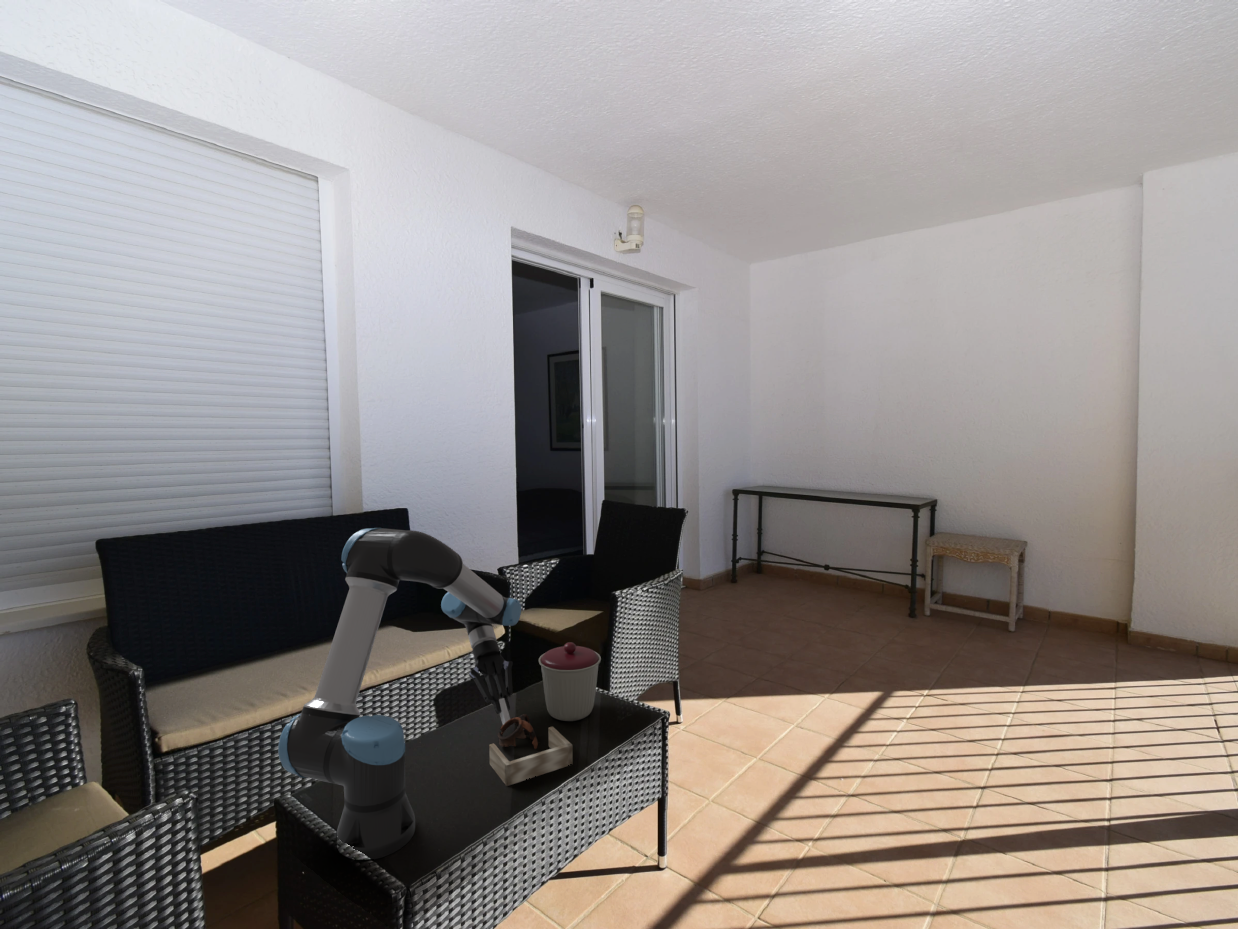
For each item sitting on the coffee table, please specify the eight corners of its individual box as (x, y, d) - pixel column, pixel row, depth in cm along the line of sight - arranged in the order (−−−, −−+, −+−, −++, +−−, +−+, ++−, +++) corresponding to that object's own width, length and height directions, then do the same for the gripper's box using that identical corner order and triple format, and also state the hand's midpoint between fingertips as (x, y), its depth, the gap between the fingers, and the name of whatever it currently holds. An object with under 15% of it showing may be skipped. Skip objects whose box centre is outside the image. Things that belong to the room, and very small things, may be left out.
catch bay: (506, 786, 145) (506, 765, 144) (489, 764, 154) (489, 744, 154) (572, 764, 154) (572, 745, 154) (552, 744, 163) (552, 726, 163)
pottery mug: (537, 757, 159) (521, 733, 156) (506, 769, 160) (489, 746, 158) (544, 723, 170) (529, 701, 168) (515, 735, 172) (500, 713, 169)
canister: (564, 735, 169) (563, 659, 167) (526, 712, 182) (526, 642, 181) (613, 714, 181) (613, 643, 179) (575, 694, 194) (574, 628, 193)
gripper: (502, 647, 188) (525, 722, 175) (460, 655, 181) (480, 735, 168) (508, 635, 183) (532, 711, 170) (465, 643, 176) (487, 724, 163)
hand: (506, 723), depth 169 cm, fingers closed
